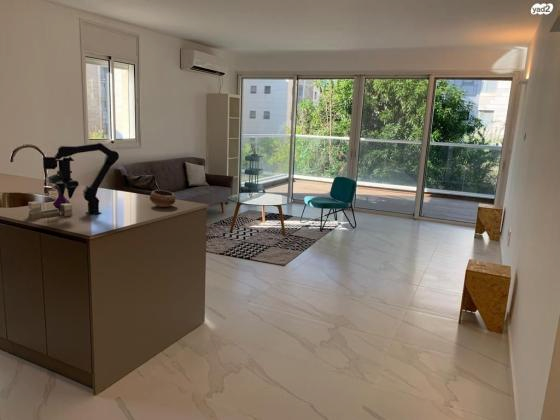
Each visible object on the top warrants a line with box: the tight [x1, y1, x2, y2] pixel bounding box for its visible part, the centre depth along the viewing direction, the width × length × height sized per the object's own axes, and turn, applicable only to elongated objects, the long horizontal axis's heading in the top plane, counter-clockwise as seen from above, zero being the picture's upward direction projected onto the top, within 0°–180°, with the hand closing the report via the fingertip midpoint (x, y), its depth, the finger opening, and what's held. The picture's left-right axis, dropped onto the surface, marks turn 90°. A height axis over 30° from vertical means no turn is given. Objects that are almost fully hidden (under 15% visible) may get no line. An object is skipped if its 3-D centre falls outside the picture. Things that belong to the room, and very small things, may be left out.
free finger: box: [59, 203, 73, 217], centre depth 245 cm, size 5×4×6 cm
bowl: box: [149, 189, 176, 208], centre depth 280 cm, size 16×16×10 cm
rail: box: [27, 201, 61, 220], centre depth 239 cm, size 6×14×8 cm, turn 140°
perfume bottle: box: [52, 184, 71, 210], centre depth 258 cm, size 8×8×18 cm
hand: (66, 197), depth 243 cm, fingers open, 9 cm apart
